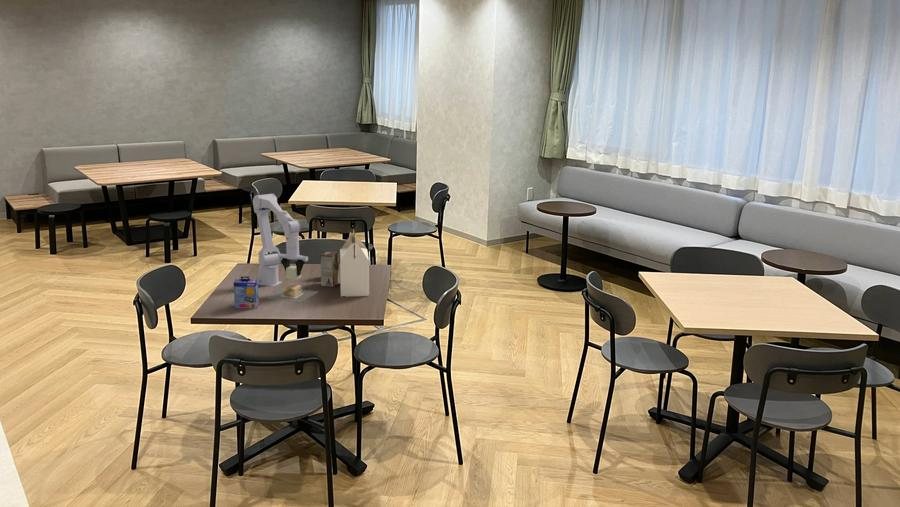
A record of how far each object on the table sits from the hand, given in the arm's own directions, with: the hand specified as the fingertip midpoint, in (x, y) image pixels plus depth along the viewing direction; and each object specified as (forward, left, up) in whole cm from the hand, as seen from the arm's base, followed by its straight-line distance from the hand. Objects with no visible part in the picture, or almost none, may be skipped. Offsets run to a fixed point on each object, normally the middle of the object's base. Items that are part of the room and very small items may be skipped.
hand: (293, 274), depth 346 cm
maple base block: (+1, -3, -9) cm, 9 cm away
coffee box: (+9, +20, -10) cm, 24 cm away
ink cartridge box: (-10, -24, -10) cm, 28 cm away
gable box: (+23, +18, -10) cm, 30 cm away
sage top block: (0, 0, -2) cm, 2 cm away
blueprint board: (+1, -3, -10) cm, 10 cm away
